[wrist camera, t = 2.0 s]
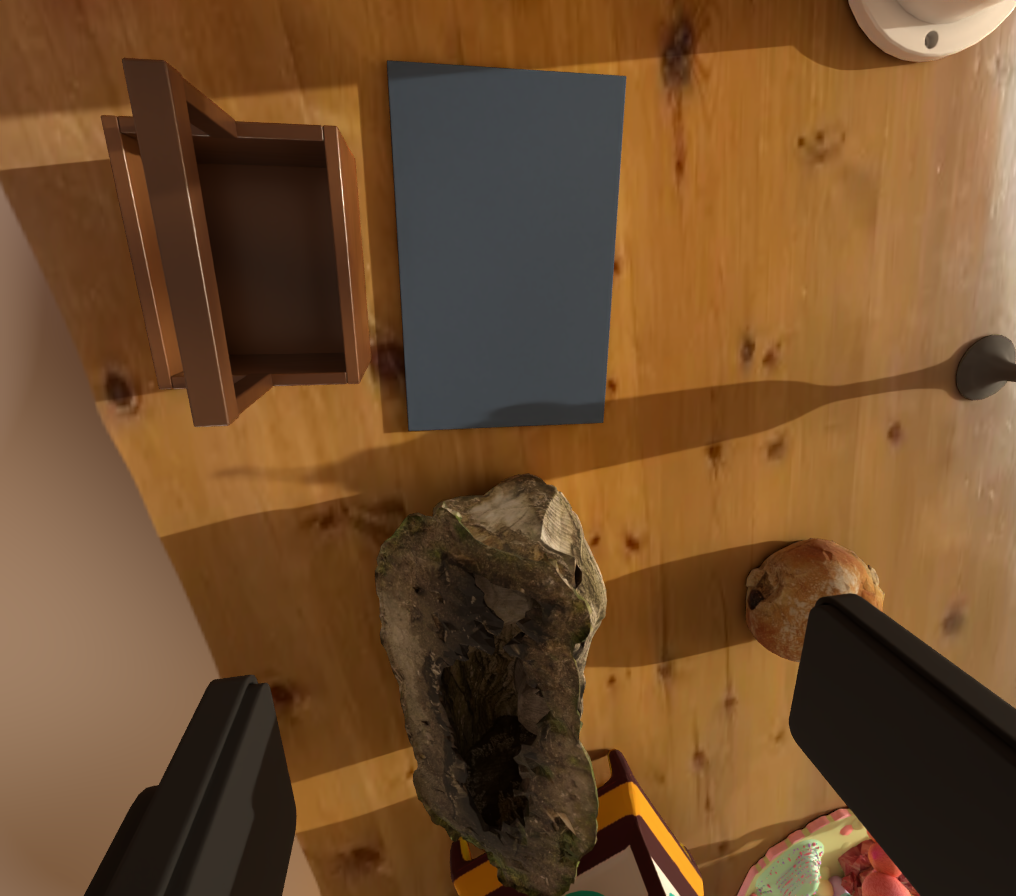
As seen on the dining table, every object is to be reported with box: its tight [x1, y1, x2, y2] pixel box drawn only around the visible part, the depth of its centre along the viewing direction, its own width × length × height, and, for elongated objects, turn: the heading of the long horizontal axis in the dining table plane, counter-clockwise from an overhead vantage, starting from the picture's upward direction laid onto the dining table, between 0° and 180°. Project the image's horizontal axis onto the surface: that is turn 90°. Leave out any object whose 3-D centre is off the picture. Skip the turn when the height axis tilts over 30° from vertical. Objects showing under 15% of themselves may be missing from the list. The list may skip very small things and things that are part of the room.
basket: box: [101, 58, 371, 427], centre depth 23 cm, size 11×9×14 cm
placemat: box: [387, 61, 626, 431], centre depth 31 cm, size 20×13×1 cm, turn 179°
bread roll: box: [746, 538, 885, 662], centre depth 41 cm, size 10×10×8 cm
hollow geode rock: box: [375, 473, 607, 896], centre depth 35 cm, size 28×13×15 cm
